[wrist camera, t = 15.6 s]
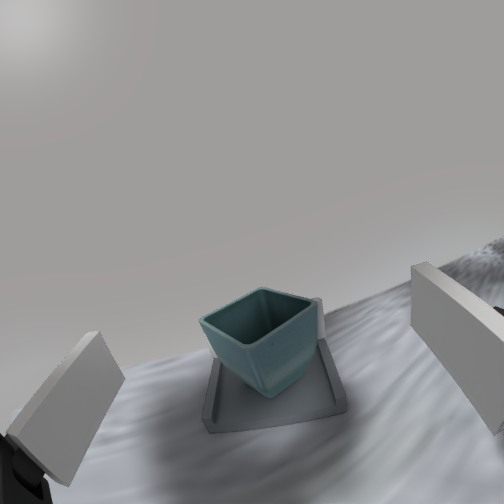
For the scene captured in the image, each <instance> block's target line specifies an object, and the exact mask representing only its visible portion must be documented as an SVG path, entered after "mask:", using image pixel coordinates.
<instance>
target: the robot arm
mask: <svg viewBox="0 0 504 504" xmlns="http://www.w3.org/2000/svg"><path fill="white" fill-rule="evenodd" d="M411 327H412V328H413V329H414V330H415V331H416V332H417V334H418V335H419V336H420V337H421V339H422V340H423V341H424V342H425V343H426V345H427V346H428V347H429V348H430V350H431V351H432V352H433V353H434V355H435V356H436V357H437V358H438V360H439V361H440V362H441V363H442V365H443V366H444V367H445V368H446V370H447V371H448V372H449V374H450V375H451V376H452V378H453V379H454V380H455V382H456V383H457V384H458V386H459V387H460V388H461V390H462V391H463V392H464V394H465V395H466V397H467V398H468V399H469V401H470V402H471V403H472V405H473V406H474V408H475V409H476V411H477V412H478V413H479V415H480V416H481V418H482V419H483V421H484V422H485V424H486V425H487V427H488V428H489V430H490V431H491V433H492V434H493V436H495V435H496V434H498V433H499V432H501V431H502V430H503V429H504V309H502V308H499V307H496V306H495V307H493V308H492V307H491V306H489V305H488V304H487V303H485V302H484V301H483V300H481V299H480V298H479V297H477V296H476V295H474V294H473V293H472V292H470V291H469V290H468V289H466V288H465V287H463V286H462V285H460V284H459V283H458V282H456V281H455V280H453V279H452V278H450V277H449V276H447V275H446V274H444V273H443V272H441V271H440V270H438V269H437V268H435V267H434V266H432V265H431V264H429V263H428V262H424V263H421V264H417V265H414V266H411ZM124 380H125V377H124V375H123V374H122V372H121V370H120V369H119V367H118V365H117V363H116V361H115V360H114V358H113V356H112V354H111V353H110V350H109V349H108V347H107V345H106V343H105V341H104V339H103V337H102V335H101V333H100V331H96V332H88V333H87V334H86V335H85V336H84V337H83V338H82V339H81V340H80V341H79V342H78V344H77V345H76V346H75V347H74V348H73V349H72V350H71V351H70V353H69V354H68V355H67V356H66V357H65V358H64V360H63V361H62V362H61V363H60V364H59V365H58V367H57V368H56V369H55V370H54V371H53V372H52V374H51V375H50V376H49V377H48V378H47V380H46V381H45V382H44V383H43V384H42V386H41V387H40V388H39V389H38V391H37V392H36V393H35V394H34V396H33V397H32V398H31V399H30V401H29V402H28V403H27V404H26V406H25V407H24V408H23V410H22V411H21V412H20V413H19V415H18V416H17V417H16V419H15V420H14V421H13V423H12V424H11V425H10V427H9V428H8V430H7V431H6V433H7V434H6V436H5V437H3V436H2V435H1V433H0V504H53V502H52V498H51V493H50V488H49V484H48V481H47V480H46V479H45V478H44V477H43V476H44V474H45V473H46V474H47V475H48V476H49V477H50V478H52V479H53V480H54V481H55V482H57V483H59V484H62V485H64V486H67V487H69V486H70V484H71V482H72V480H73V478H74V476H75V474H76V472H77V470H78V468H79V466H80V463H81V461H82V459H83V457H84V455H85V453H86V451H87V449H88V448H89V446H90V444H91V442H92V440H93V438H94V436H95V434H96V432H97V430H98V428H99V426H100V424H101V422H102V421H103V419H104V417H105V415H106V413H107V411H108V409H109V408H110V406H111V404H112V402H113V400H114V398H115V397H116V395H117V393H118V391H119V389H120V388H121V386H122V384H123V382H124Z"/></svg>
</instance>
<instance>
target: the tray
mask: <svg viewBox="0 0 504 504" xmlns="http://www.w3.org/2000/svg"><path fill="white" fill-rule="evenodd" d="M312 300H315V301H317V302H318V335H317V346H316V351H315V354H314V357H313V359H312V361H311V363H310V365H309V367H308V368H307V370H306V371H305V373H304V374H303V375H302V376H301V377H300V378H299V379H297V380H296V381H295V382H293V383H292V384H291V385H290V386H288V387H287V388H286V389H284V390H283V391H282V392H281V393H279V394H278V395H277V396H275V397H274V398H271V399H269V398H266V397H265V396H263V395H262V394H260V393H259V392H258V391H256V390H255V389H253V388H252V387H250V386H249V385H247V384H246V383H244V382H243V381H242V380H240V379H239V378H238V377H236V376H235V375H234V374H233V373H231V372H230V371H229V370H228V369H227V368H226V367H225V366H224V365H223V363H222V362H221V361H220V360H219V358H218V357H217V355H216V354H215V352H214V350H213V348H212V346H211V344H210V342H209V341H208V339H207V337H206V335H205V337H206V339H207V342H208V345H209V348H210V351H211V353H212V356H213V359H214V360H213V365H212V370H211V375H210V379H209V384H208V389H207V394H206V399H205V404H204V409H203V414H202V418H201V419H202V421H203V423H204V425H205V426H206V428H207V430H208V432H209V433H222V432H235V431H245V430H254V429H262V428H270V427H277V426H283V425H289V424H295V423H300V422H305V421H310V420H315V419H320V418H324V417H328V416H333V415H337V414H341V413H344V412H346V394H345V391H344V389H343V386H342V383H341V380H340V377H339V375H338V372H337V369H336V367H335V364H334V361H333V359H332V356H331V353H330V351H329V348H328V345H327V339H326V331H325V322H324V314H323V306H322V300H321V299H320V298H313V299H312ZM204 334H205V333H204Z"/></svg>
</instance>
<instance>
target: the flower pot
mask: <svg viewBox="0 0 504 504" xmlns="http://www.w3.org/2000/svg"><path fill="white" fill-rule="evenodd" d="M199 323H200V325H201V327H202V329H203V331H204V333H205V335H206V337H207V339H208V341H209V342H210V344H211V346H212V348H213V350H214V352H215V354H216V355H217V357H218V358H219V360H220V361H221V362H222V363H223V365H224V366H225V367H226V368H227V369H228V370H229V371H230V372H231V373H233V374H234V375H235V376H236V377H238V378H239V379H240V380H242V381H243V382H244V383H246V384H247V385H249V386H250V387H252V388H253V389H255V390H256V391H258V392H259V393H260V394H262V395H263V396H265V397H266V398H269V399H271V398H274V397H275V396H277V395H278V394H279V393H281V392H282V391H283V390H284V389H286V388H287V387H288V386H290V385H291V384H292V383H293V382H295V381H296V380H297V379H299V378H300V377H301V376H302V375H303V374H304V373H305V371H306V370H307V368H308V367H309V365H310V363H311V361H312V359H313V357H314V354H315V351H316V346H317V335H318V302H317V301H315V300H312V299H308V298H304V297H299V296H295V295H292V294H288V293H284V292H280V291H276V290H273V289H270V288H266V287H260V288H257V289H256V290H254V291H252V292H250V293H248V294H246V295H244V296H242V297H240V298H238V299H236V300H235V301H232V302H231V303H229V304H227V305H225V306H223V307H221V308H220V309H217V310H215V311H213V312H211V313H209V314H207V315H205V316H203V317H202V318H200V319H199Z"/></svg>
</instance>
